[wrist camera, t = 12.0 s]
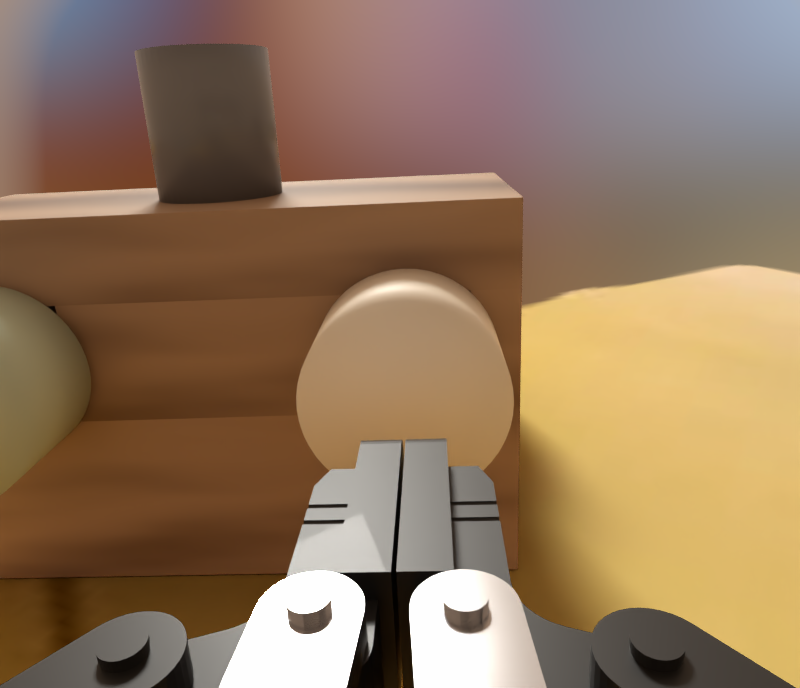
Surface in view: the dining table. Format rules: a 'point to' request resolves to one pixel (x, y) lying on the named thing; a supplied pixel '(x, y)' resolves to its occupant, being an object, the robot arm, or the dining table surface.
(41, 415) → the knob sage
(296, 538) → the brown wooden block
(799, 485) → the dining table surface
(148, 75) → the dark grey cylinder
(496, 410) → the knob cream
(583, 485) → the dining table surface
